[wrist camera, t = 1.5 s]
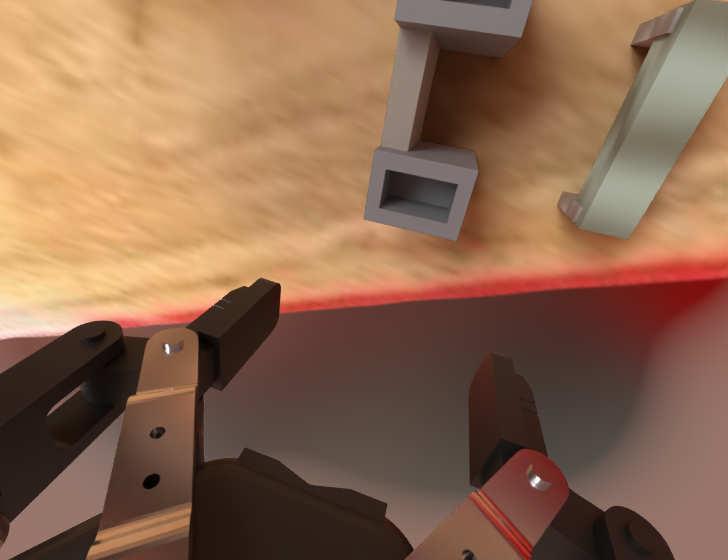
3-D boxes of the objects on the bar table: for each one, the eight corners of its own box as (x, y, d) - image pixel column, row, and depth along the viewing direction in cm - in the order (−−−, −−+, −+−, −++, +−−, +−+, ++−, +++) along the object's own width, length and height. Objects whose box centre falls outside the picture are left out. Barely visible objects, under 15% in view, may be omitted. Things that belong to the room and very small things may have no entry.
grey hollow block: (430, -36, 25) (414, -109, 16) (527, -25, 24) (563, -97, 15) (389, 189, 33) (363, 219, 25) (457, 204, 32) (456, 241, 24)
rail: (641, 21, 23) (691, -2, 18) (704, 28, 23) (775, 7, 17) (556, 206, 30) (575, 228, 25) (602, 216, 29) (631, 240, 24)
